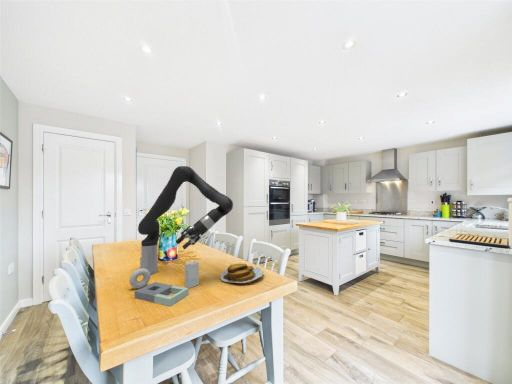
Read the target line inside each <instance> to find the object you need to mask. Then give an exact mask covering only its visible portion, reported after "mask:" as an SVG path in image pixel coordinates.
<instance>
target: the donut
mask: <svg viewBox="0 0 512 384" xmlns="http://www.w3.org/2000/svg"><path fill="white" fill-rule="evenodd" d="M140 276H143V278H142V279H141V280H140V281H138V277H140ZM150 281H151V274H150V272H149V271H148V270H147V269H144V268H141V269H140V268H138V269H136V270H134V271H133V272H132V273H131V275H130V276H129V285H130V286H131V287H132V288H133V289H141V288H143V287H145V286H148V283H149V282H150Z"/></svg>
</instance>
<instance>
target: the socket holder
mask: <svg viewBox="0 0 512 384" xmlns="http://www.w3.org/2000/svg"><path fill="white" fill-rule="evenodd" d="M189 290H190V288H188V287H183V286H179V285H173V284H168V283H162V282H158V281H157V282H156V281H154V282H152V283H150V284H147V285H145V286H144V287H142V288H138V289H137V290H134V298H135V299H138V300H142V301H146V302H151V303H153V304H159V305H162V306H166V307H171V306H173V305H174V304H176V303H178V302H180V301H181V300H182V299H184V298H186V297H187V296H189V295H190V294H189ZM171 294H172V295H171ZM170 295H171V296H170Z"/></svg>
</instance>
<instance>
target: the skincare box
mask: <svg viewBox="0 0 512 384" xmlns="http://www.w3.org/2000/svg"><path fill="white" fill-rule="evenodd" d="M199 265H200V262H198V261H190V262H187V263H185V264H184V286H185V288H189V289H191V288H194V287H196V286H199V284H200V281H199V280H200V279H199V278H200V273H199V272H200V267H199Z"/></svg>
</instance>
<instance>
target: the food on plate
mask: <svg viewBox="0 0 512 384" xmlns="http://www.w3.org/2000/svg"><path fill="white" fill-rule="evenodd" d="M263 274H264V271H263V270H262V269H261V268H260V267H258V266H253V265H252V266H251V265H247V264H246V263H234V264H230V265H229V266H228V267H227V269H226V270H224V271H223V272H222V273H221V274H220V275H219V278H220V279H221V281H223V282H226V283H231V282H232V283H233V284H234V283H237V284H246V283H247V285H251V284H250V283H251V282H253V281H256V280H257V279H259V278H262V276H263Z"/></svg>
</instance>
